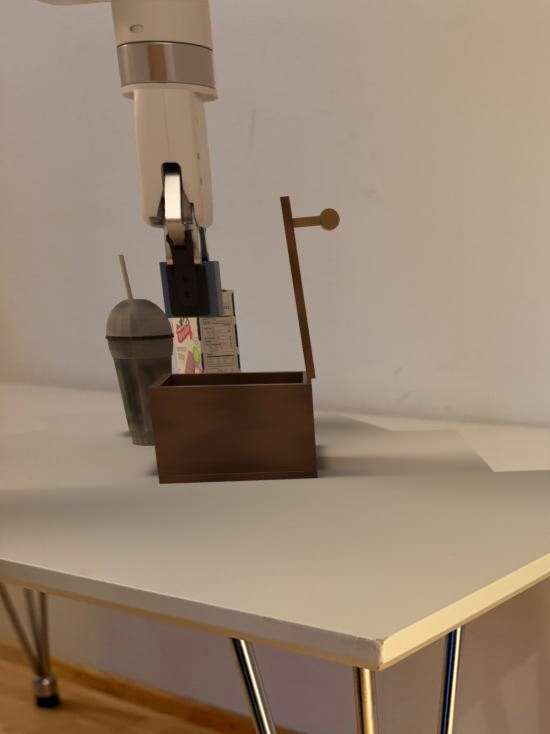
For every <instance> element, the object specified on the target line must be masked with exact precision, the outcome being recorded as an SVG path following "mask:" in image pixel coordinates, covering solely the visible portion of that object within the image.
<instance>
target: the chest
mask: <svg viewBox="0 0 550 734" xmlns="http://www.w3.org/2000/svg"><path fill="white" fill-rule="evenodd" d="M148 396H149V404H150V412H151V420H152V429H153V437H154V445H153V446H154V452H155V453H154V454H155V462H156V469H157V476H158V477H157V478H158V484H159V485H170V484H197V483H198V484H199V483H201V484H202V483H225V482H226V483H228V482H254V481H255V482H257V481H281V480H284V481H285V480H307V479H308V480H310V479H319V476H318V459H317V444H316V443H317V442H316V430H315V429H316V427H315V414H314V413H315V411H314V395H313V381H312V379H307V375H306V370H285V371H284V370H283V371H280V370H279V371H277V370H276V371H275V370H274V371H241V372H224V373H178V372H177V373H173V372H172V374H163V375H162V376H161V377H160V378H159V379H158V380H156V381H155V382H154V383H153V384H152V385H151V386H149V387H148Z"/></svg>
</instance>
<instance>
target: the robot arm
mask: <svg viewBox="0 0 550 734" xmlns="http://www.w3.org/2000/svg"><path fill="white" fill-rule="evenodd" d="M37 2H40V3H43V4H47V5H51V6H59V7H60V6H61V7H62V6H65V7H67V6H78V5H79V6H80V5H88V4H99V3H100V4H101V3H110V7H111V16H112V24H113V31H114V37H115V39H114V40H115V46H116V47H115V48H116V56H117V65H118V72H119V78H120V79H119V81H120V87H121V95H122V97H123V98H124V99H128V100H131V101H133V120H134V123H133V124H134V136H135V137H134V138H135V145H136V146H135V147H136V149H135V150H136V157H137V158H136V159H137V171H138V179H139V190H140V191H139V193H140V203H141V215H142V219H143V221H144V222H145V224H146V225H148V226H149V227H151V228H155V229H163V238H164V250H165V260H166V261H165V262H167V265H168V266H166V273H167V282H168V290H169V298H170V307H171V313H172V315H173V316H207V315H209V314H210V302H209V293H208V283H207V274H206V266H202V261H211V260H210V259H211V258H210V251H209V243H208V236H207V235H208V234H207V229H209V228H210V226H212V225H213V224H214V205H213V204H214V203H213V185H212V172H211V160H210V159H211V158H210V148H209V147H210V146H209V139H208V128H207V119H206V108H205V103H211V102H215V101H216V100H218V99H219V93H218V84H217V74H216V72H217V71H216V64H215V61H216V60H215V53H214V43H213V32H212V21H211V11H210V0H37Z"/></svg>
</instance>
